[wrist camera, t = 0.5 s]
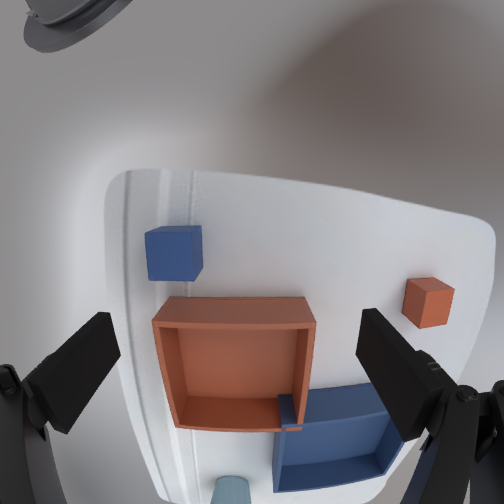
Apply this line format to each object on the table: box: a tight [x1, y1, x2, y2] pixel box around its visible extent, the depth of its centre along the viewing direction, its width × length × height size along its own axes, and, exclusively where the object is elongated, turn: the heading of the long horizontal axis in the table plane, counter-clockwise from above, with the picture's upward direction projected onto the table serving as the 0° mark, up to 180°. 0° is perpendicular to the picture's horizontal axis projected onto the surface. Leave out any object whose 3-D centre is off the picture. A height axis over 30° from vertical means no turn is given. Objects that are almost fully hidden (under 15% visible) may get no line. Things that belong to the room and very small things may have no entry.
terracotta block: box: [402, 278, 455, 329], centre depth 24 cm, size 4×4×4 cm
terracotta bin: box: [152, 296, 316, 432], centre depth 25 cm, size 13×13×6 cm
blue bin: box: [272, 383, 405, 493], centre depth 28 cm, size 17×17×6 cm
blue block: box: [145, 226, 203, 281], centre depth 23 cm, size 4×4×4 cm
